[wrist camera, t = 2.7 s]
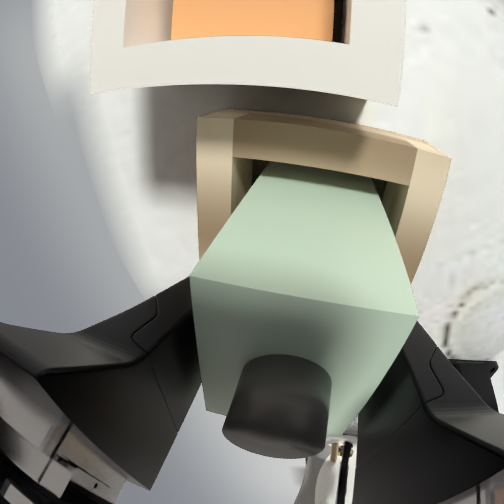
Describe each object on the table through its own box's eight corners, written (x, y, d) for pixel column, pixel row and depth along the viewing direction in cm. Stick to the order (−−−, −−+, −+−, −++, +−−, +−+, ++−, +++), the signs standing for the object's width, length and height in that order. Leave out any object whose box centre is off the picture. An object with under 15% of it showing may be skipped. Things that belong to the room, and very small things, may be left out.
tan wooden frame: (371, 312, 14) (375, 357, 12) (223, 286, 16) (204, 325, 13) (423, 140, 10) (451, 158, 7) (226, 109, 11) (196, 117, 8)
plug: (345, 276, 14) (335, 481, 6) (263, 262, 14) (189, 453, 6) (369, 175, 11) (434, 388, 3) (271, 159, 12) (148, 338, 4)
